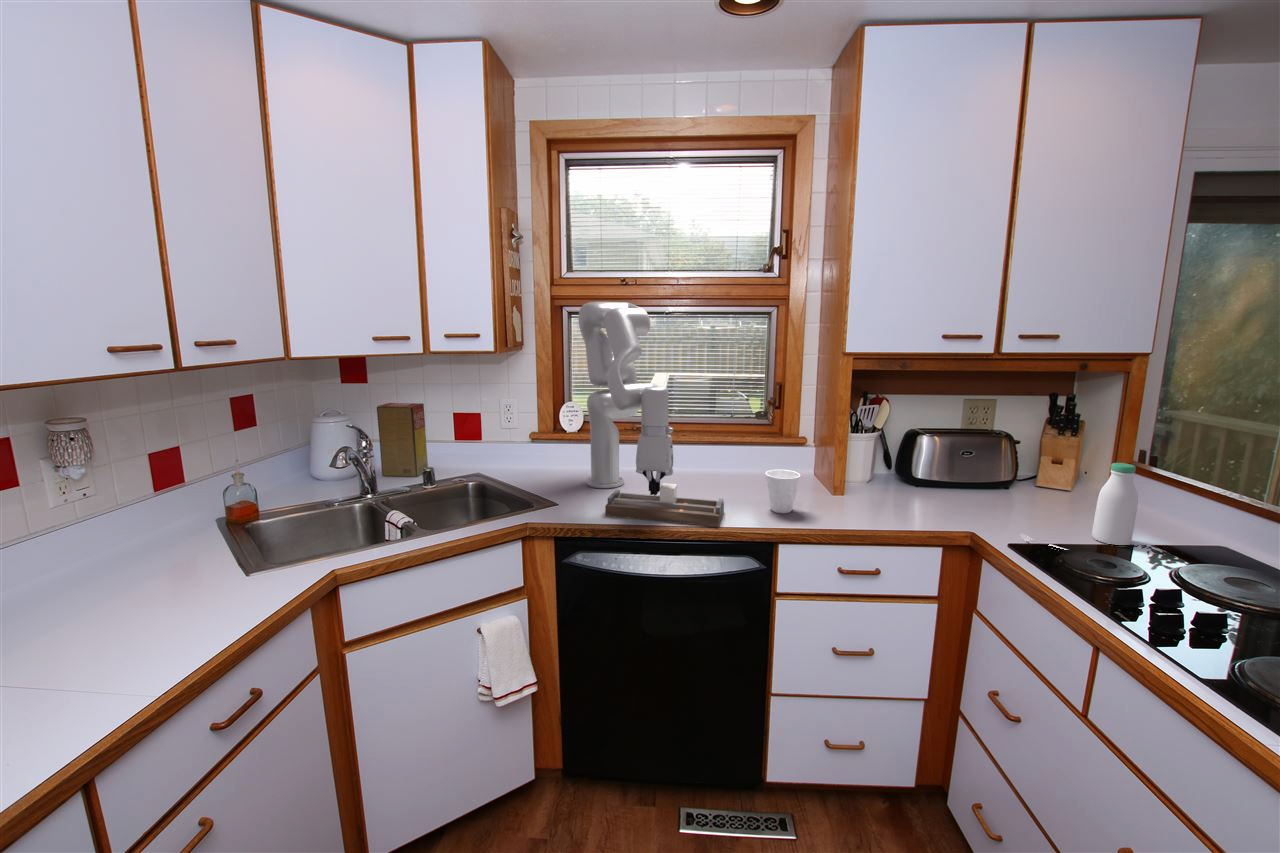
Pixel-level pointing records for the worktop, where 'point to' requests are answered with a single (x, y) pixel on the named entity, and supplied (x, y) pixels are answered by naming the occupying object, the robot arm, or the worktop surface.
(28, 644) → the worktop surface
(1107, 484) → the milk bottle
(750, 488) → the worktop surface
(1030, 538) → the fork
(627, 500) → the fader console
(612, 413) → the robot arm
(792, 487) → the cup
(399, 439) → the food packaging
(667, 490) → the fader tab
